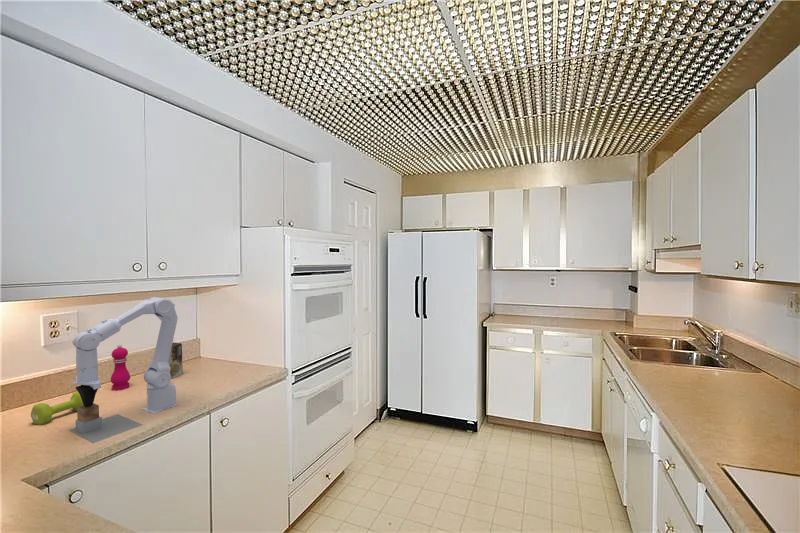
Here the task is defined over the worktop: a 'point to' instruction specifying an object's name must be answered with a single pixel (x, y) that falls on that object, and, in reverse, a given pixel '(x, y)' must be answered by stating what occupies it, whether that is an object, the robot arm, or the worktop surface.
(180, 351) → the coffee box
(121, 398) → the worktop surface
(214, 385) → the worktop surface
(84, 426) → the base block
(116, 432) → the mat
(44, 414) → the dumbbell
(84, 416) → the walnut block
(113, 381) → the pepper mill
